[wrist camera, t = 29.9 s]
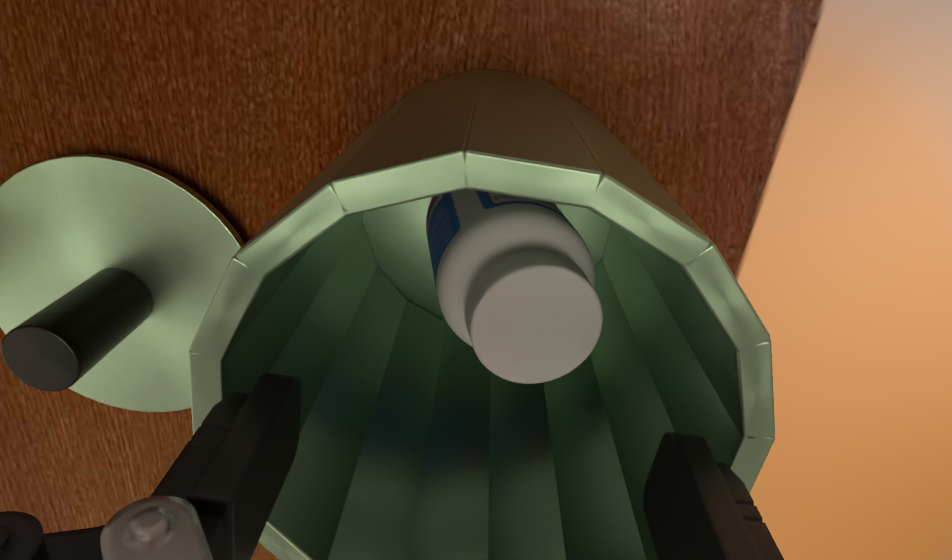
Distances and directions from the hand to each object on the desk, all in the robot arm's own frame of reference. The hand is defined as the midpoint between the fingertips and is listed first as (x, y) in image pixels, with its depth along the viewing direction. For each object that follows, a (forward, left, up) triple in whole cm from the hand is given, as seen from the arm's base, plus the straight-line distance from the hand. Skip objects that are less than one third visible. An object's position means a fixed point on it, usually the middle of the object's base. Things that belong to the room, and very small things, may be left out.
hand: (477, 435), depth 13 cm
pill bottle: (0, 0, -15) cm, 15 cm away
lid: (+7, -16, -15) cm, 23 cm away
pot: (0, 0, -15) cm, 15 cm away
